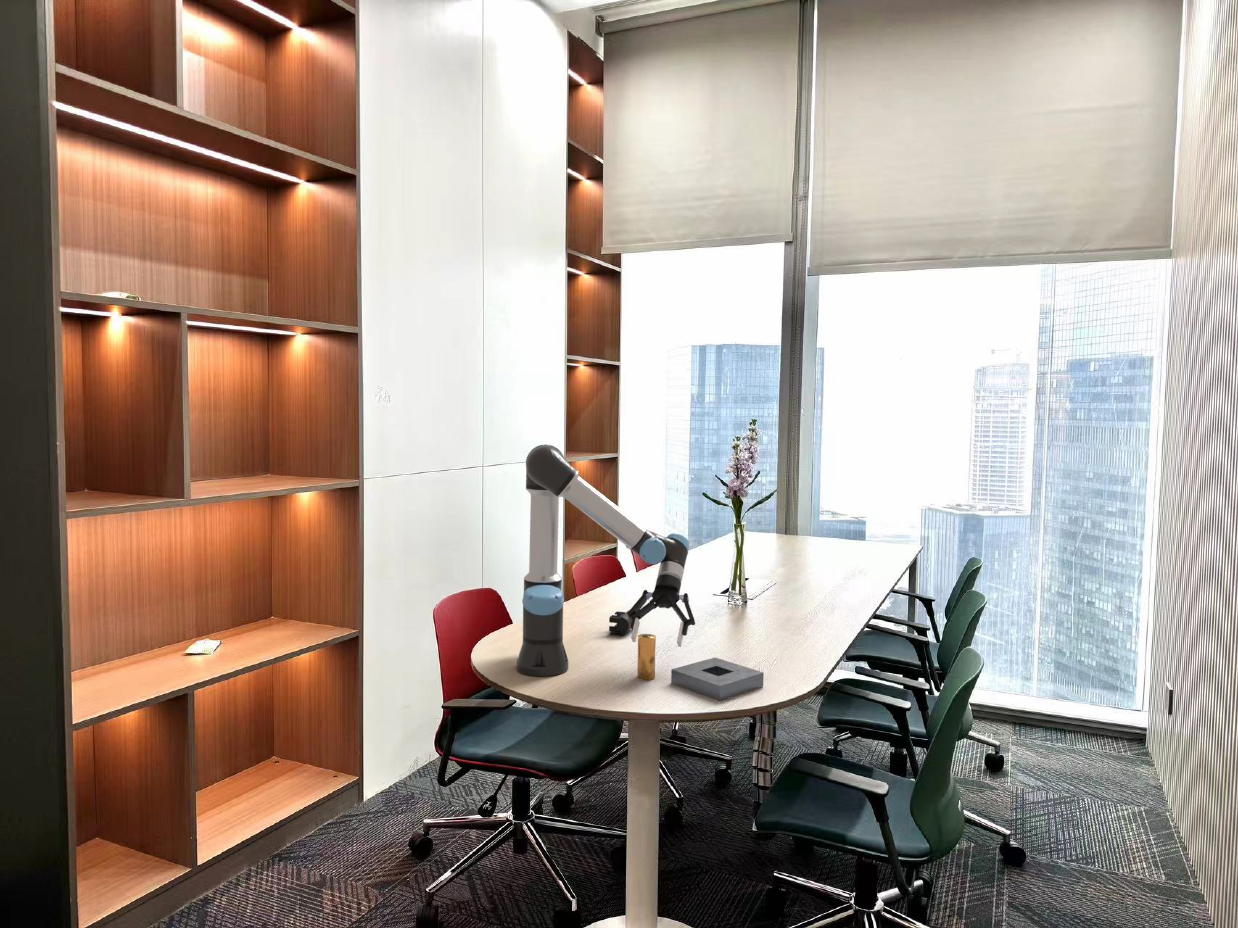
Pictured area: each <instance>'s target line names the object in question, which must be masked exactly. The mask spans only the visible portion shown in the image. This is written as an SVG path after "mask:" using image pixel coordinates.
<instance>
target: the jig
mask: <svg viewBox="0 0 1238 928" xmlns="http://www.w3.org/2000/svg"><path fill="white" fill-rule="evenodd" d="M670 672H671V673H670V684H672V685H674V686H677V687H680V688H683V689H686V690H688V691H691V692H695V693H697V694H699V695H701V696H705V697H708V698H710V699H713V700H717V701H719V702H721V701H724V700H727V699H729V698H730V699H731V698H732V697H733V698H734V697H736V696H738V695H742V694H745V693H748V692H752V691H754V690H757V689H760V688H763V687H764V672H763V671H760V670H756V669H754V668H750V667H747V666H744V665H741V664H737V663H734V662H731V661H728V660H724V659H721V658H719V657H711V658H707V659H704V660H703V659H702V660H701V661H696V662H694V663H690V664H686V665H682V666H678V667H675V668H671V671H670Z"/></svg>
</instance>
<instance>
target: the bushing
mask: <svg viewBox="0 0 1238 928" xmlns="http://www.w3.org/2000/svg"><path fill="white" fill-rule="evenodd" d="M656 637H657V636H656V635H655V634H651V633H640V634H637V667H636V668H637V673H636V674H637V677H636V678H637V679H638V680H639V681H652V680H655V679H656V644H657V643H656Z"/></svg>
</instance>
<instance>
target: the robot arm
mask: <svg viewBox="0 0 1238 928" xmlns="http://www.w3.org/2000/svg"><path fill="white" fill-rule="evenodd" d="M525 473H526V474H525V490H526V491H527V492H528V493H529V494H530V507H529V509H530V517H529V519H530V520H529V521H530V522H529V553H528V554H529V555H528V556H529V559H528V560H529V562H528V564H529V565H528V573H527V574H526V575H525V576H524V577H523V595H522V643H521V644H522V645H521V647H520V650H519V653H518V658H517V660H516V666H515V667H516V668H515V669H516V671H517V672H518V673H520V674H522V675H526V676H531V677H551V676H556V675H562V674H563V673H566V672H567V671H568V670H569V659H568V656H567V651H566V649H565V646H564V643H563V640H564V639H563V638H564V637H563V635H564V632H563V631H564V603H565V598H564V593H563V589H562V587H563V582H562V581H563V577H562V576H561V575H560V574H559V573H558V557H559V556H558V554H559V553H558V550H559V546H558V545H559V512H560V511H559V509H560V507H559V506H560V505H559V504H560V502H559V501H560V498H564V499H565V500H567V501H568V502H570V504H572V505H573V506H574V507H576V508H577V509H578V510H579V511H581V512H582V513H584V514H585V515H586V516H587V517H589V518H590V519H591V520H592V521H594V522H595V523H597V525H599V527H602V529H604V530H605V531H607V533H609V534H610V535H612V537H614V538H616V539H617V540H618V541H620V542H621V543H622V544H623V545H625V547H626V549H629V550H630V551H632V552H633V553H635V554H636V556H638V557H640V559H641V560H642V561H643V562H645V563H646V564H649V565H657V564H659V563H660V564H659V568H658V573H657V578H656V581H655V586H654V590H653V591H652V592H650V591H648V590H647V589H644V590H643V591H642V594H641V596H640V597H639V598H638V599H637V600H636V602H635V603H634V605H632V607H631V608H630V609H628V610H629V611H628V610H627V611H628V613H627V615H628V618H629V619H632V622H631V626H630V627H631V629H630V630H631V631H632V632H631V636H630V639H631V641H632V643H636V641H637V638H638V632H639V627H640V625H641V624H640V623H641V622H640V620H641V619H642V618H644V617H645V616H646V615H648V614H649V613H650V612H651V611H652V610H655V609H656V608H659V609H670V608H672V609H673V611H674V612H675V614H676V615H677V616H678V617H679V620H680V621H681V622H680V625H679V630H678V636H677V639H676V643H677V646H678V647H679V648H681V647H682V643H683V642H682V641H683V638H684V636H687V635H688V629H689V626H695V625H696V620H695V617H694V615H693V611H692V608H691V605H690V602H689V601H690V598H689V595H688V593H687V592H685V593H683V594H680V591H681V586H682V582H683V577H684V573H685V572H684V571H685V567H686V562H687V558H688V554H689V548H690V541H689V539H688V537H686V536H685V535H684V534H681V533H678V534H677V533H673V532H672V533H670V534H668V535H667V536H663V535H661V534H658V533H655V532H653V531H650V530H648V529H646V527H644V526H643V525H641V523H639V522H638V521H637V520H636V519H634V518H633V517H631V516H630V515H629V514H628V513H627V512H625V511H624V510H623V509H621V508H620V507H619V506H617V504H615V503H614V502H612V501H611V500H610V499H609V498H607V497H606V495H604V494H602V493H601V492H600V491H598V490H597V489H596V488H594V487H593V486H592V485H591V484H590V483H588V482H587V481H586V480H585V479H583V478H582V477H581V476H580V473H579V470H577V469H576V468H575V467H574V466H572V464H570V463H569V462H568V460H567V459H566V458H565V456H564V454H563V452H562V451H561V450H560V449H559V448H557V447H556V446H554V445H551V444H539V445H537V446H534V447H533V448H532V449H531V450H530V451H529V452H528V454H527V457H526V459H525ZM648 600H649V602H648V603H647V601H648ZM680 600H681V602H682V603H683V604H684V608H685V610H686V613H687V616H688V618H687V617H686V615H685V614H684V613H683V610H681V608H680V606H678V604H677V603H678V602H679V601H680Z"/></svg>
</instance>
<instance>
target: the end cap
mask: <svg viewBox="0 0 1238 928" xmlns="http://www.w3.org/2000/svg"><path fill="white" fill-rule="evenodd" d="M629 610H630V609H628V610H627V611H615V612H614V614H612V615H610V616H609V619H608V620H609V621H608V622H609V623H611V624H615V625H609V626H608V630H609V636H617V637H623V636H624V635H626V634H627V633H628V632H629V631H630V630H631V627H630V626H631V622H632V619H629V618H628V615H627V613H628V611H629Z"/></svg>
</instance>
